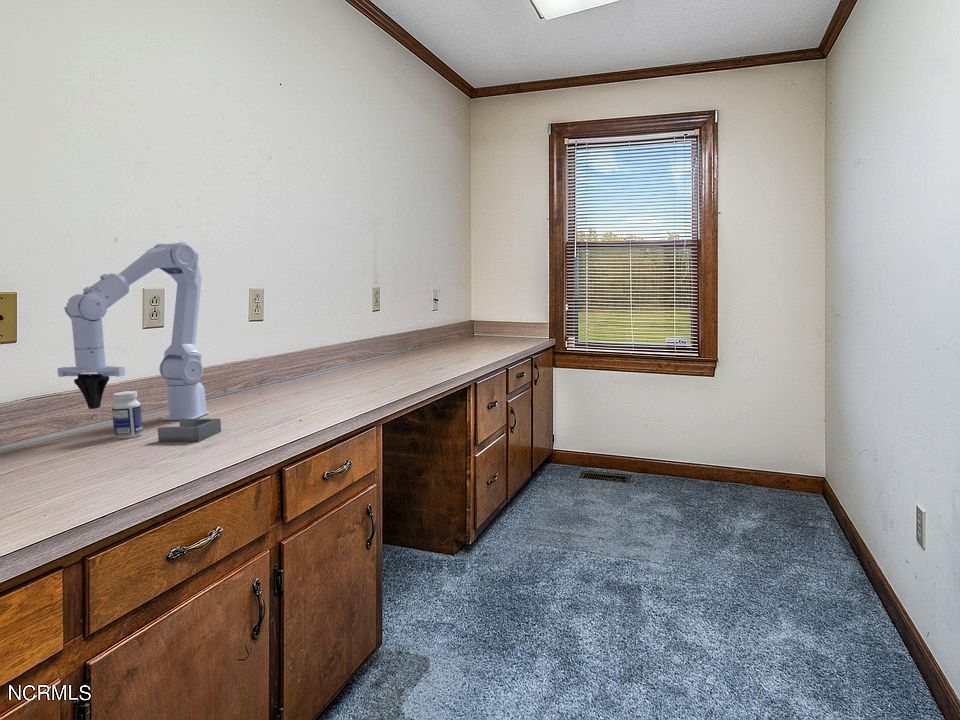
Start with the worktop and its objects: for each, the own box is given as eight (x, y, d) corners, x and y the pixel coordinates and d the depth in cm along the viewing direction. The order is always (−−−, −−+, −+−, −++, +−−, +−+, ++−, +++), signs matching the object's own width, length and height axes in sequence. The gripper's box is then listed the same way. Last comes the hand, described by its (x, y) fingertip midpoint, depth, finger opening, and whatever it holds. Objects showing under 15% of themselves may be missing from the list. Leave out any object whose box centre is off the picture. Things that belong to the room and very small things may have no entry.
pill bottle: (136, 432, 149) (133, 389, 148) (147, 435, 146) (144, 392, 144) (109, 436, 145) (106, 393, 144) (120, 440, 141) (117, 395, 140)
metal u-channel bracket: (183, 431, 149) (182, 418, 149) (221, 431, 149) (220, 418, 148) (158, 441, 139) (157, 427, 139) (199, 441, 139) (198, 428, 138)
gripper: (45, 350, 140) (51, 411, 142) (108, 349, 139) (113, 411, 141) (68, 346, 147) (73, 405, 149) (128, 346, 146) (133, 405, 148)
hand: (94, 408), depth 145 cm, fingers closed
